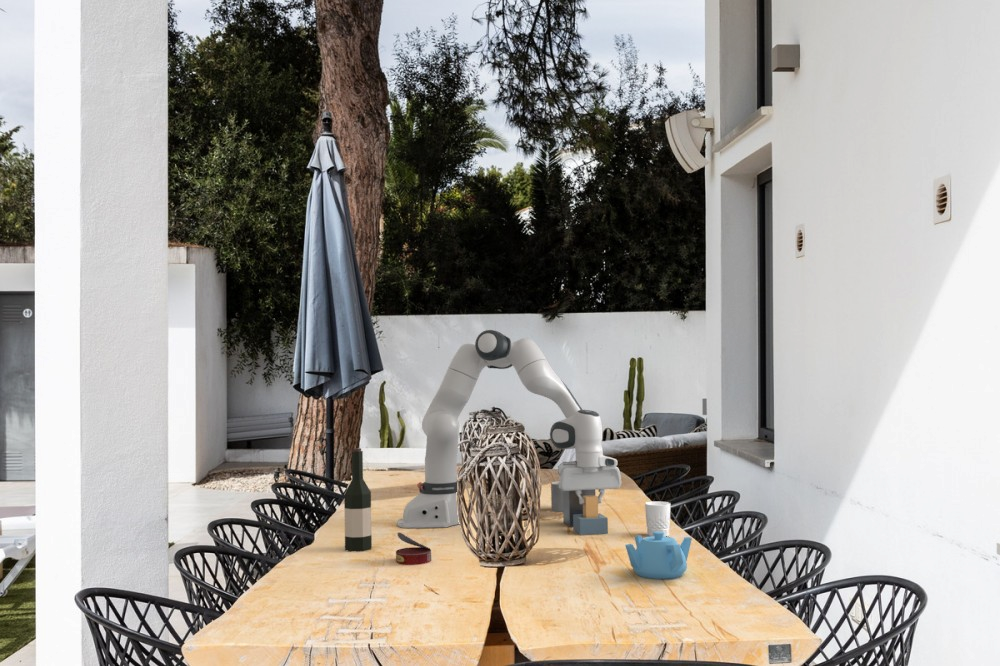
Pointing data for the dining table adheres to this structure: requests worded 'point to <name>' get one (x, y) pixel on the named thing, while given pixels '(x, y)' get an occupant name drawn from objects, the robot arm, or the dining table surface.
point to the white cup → (657, 517)
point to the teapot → (659, 556)
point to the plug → (590, 506)
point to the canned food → (412, 553)
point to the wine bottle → (357, 508)
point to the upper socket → (573, 505)
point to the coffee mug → (556, 497)
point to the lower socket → (590, 525)
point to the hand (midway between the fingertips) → (590, 503)
